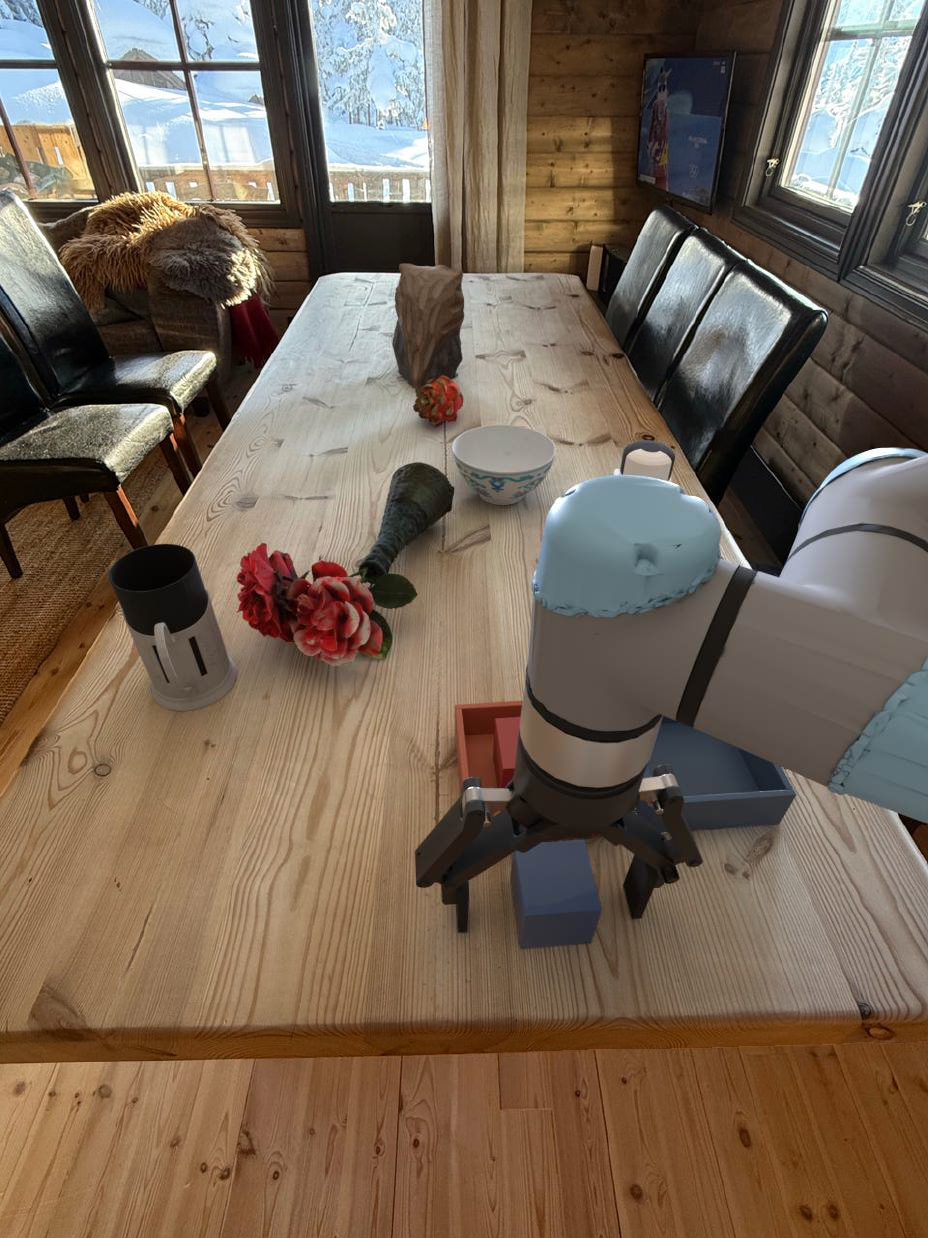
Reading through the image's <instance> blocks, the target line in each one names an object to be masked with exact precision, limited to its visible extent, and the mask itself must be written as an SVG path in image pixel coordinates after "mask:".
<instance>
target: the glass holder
mask: <svg viewBox="0 0 928 1238" xmlns="http://www.w3.org/2000/svg"><path fill="white" fill-rule="evenodd" d="M200 571H201V570H200V568H199V565H198V562H197V559H196V556H195V554H194V552H193V551H192V550H191V549H189V548H188V547H186V546H183V545H180V544H175V543H157V544H150V545H146V546H142V547H139V548H137V549H134V550H131V551H129V552H128V553H126V554H124V555H123V556H121V557H120V558H119V559H117V560H116V561H115V562H114V564H113V565H111V567H110V569H109V573H108V578H109V583H110V585H111V586H112V589H113V591H114V594H115V596H116V598H117V600H118V603H119V605H120V607H121V610H122V616H123V619H124V622H125V625H126V626H127V628H128V631H129V634H130V636H131V638H132V640H133V642H134V645H135V647H136V649H137V652H138V654H139V656H140V658H141V662H142V663H143V665H144V667H145V670H146V672H147V674H148V677H149V679H150V682H151V685H150V686H151V687H150V690H151V695H152V698H153V700H154V701H155V702H156V704H157V705H159V706H160V707H162V708H164V709H166V710H168V711H176V712H191V711H195V710H199V709H203V708H207V707H209V706H211V705H213V704H215V703H216V702H218V701H220V700H221V699H223V698H224V697H225V696H226V695H227V694H228V693H229V692H230V691H231V690H232V688H233V687H234V685H235V684H236V681H237V679H238V668H237V665H236V663H235V662H234V660H233V659H232V658H231V657H230V656H229V654H228V650H227V647H226V644H225V641H224V639H223V634H222V632H221V629H220V626H219V622H218V618H217V616H216V612H215V609H214V607H213V604H212V600H211V597H210V593H209V591H208V589H207V588H206V587H205V584H204V580H203V577H202V575H201V572H200Z"/></svg>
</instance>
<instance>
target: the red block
mask: <svg viewBox="0 0 928 1238" xmlns="http://www.w3.org/2000/svg"><path fill="white" fill-rule="evenodd" d="M520 718H521V717H513V718H496V719H495V732H494V748H493V760H494V767H495V774H496V781H497V788H505V787H506V785H507V784H508V783H509V782H510V781H511V780H512V778H513V777H514V770H515V761H516V752H517V743H518V734H519V729H520Z"/></svg>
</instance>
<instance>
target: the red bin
mask: <svg viewBox="0 0 928 1238" xmlns="http://www.w3.org/2000/svg"><path fill="white" fill-rule="evenodd" d="M522 703H523V700H509V701H508V700H507V701H493V702H476V703H458V704H457V703H456V704H455V705H454V739H455V741H454V742H455V749H456V761H457V762H456V763H457V770H458V771H457V772H458V784H459V792H460V794H461V789H462V784H463V781H464V780H465V779H466V778H469V777H478V778H480V779H481V781H482V788H497V781H496V774H495V767H494V760H493V748H494V732H495V719H496V718H513V717H521V710H522ZM500 811H501V810H500ZM500 811H498V812H496V813H495V814H494V816H495V815H496V814H498V813H499V812H500ZM491 818H492V817H491ZM526 830H528V829H527V828H525V831H526ZM599 838H602V837H601V836H600V835H597V836H596V835H594V834H593V835H592V837H591V838H590V839H599ZM585 839H587V838H564V839H559V840H549V841H548V842H557V841H571V840H585ZM543 842H546V841H543ZM543 842H542V843H543Z"/></svg>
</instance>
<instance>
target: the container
mask: <svg viewBox="0 0 928 1238" xmlns="http://www.w3.org/2000/svg"><path fill="white" fill-rule="evenodd" d="M675 461H676V453H675V451H674V450H673V449H672V448H671V447H670V446H669V445H667V444H664V443H662V442H659V441H656V440H650V439H643V440H635V441H631V442H629V443H628V444H627V445H626V446H625V447H623V452H622V457H621V462H620V468H615V469H614V470H613V474H612V475H636V476H646V477H652V478H656V479H661V480H664V481H668V482H671V483H673V482H672V474H673V468H674V465H675Z"/></svg>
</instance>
